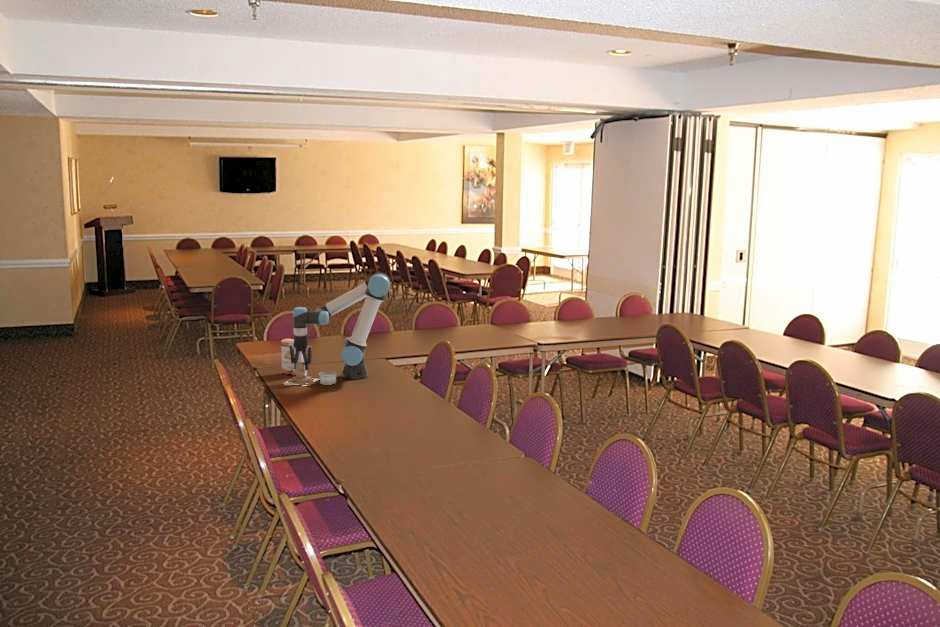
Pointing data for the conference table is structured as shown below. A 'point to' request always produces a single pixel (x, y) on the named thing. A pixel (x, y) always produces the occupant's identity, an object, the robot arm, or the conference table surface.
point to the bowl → (327, 377)
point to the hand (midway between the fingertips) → (301, 375)
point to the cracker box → (288, 356)
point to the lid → (300, 373)
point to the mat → (298, 384)
